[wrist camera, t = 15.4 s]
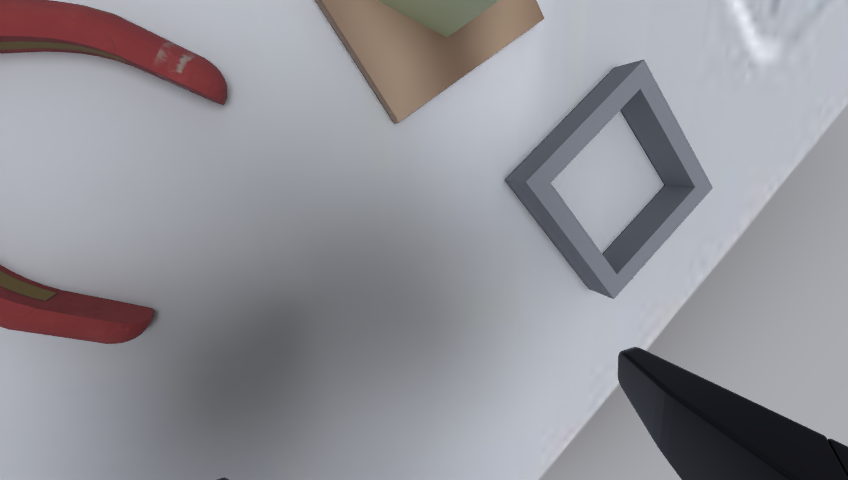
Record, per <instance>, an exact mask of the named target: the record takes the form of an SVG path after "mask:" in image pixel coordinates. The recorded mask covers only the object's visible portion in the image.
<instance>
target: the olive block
mask: <svg viewBox="0 0 848 480" xmlns="http://www.w3.org/2000/svg"><path fill="white" fill-rule="evenodd" d="M377 1H379V2H381V3H383V4H385V5H387V6H389V7H391V8H392V9H394V10H396V11H398V12H400V13H402V14H404V15H406V16H407V17H409V18H411V19H413V20H415V21H417V22H419V23H421V24H422V25H424V26H426V27H428V28H430V29H432V30H434V31H436V32H437V33H439V34H441V35H443V36H445V37H449V36H450V35H451V34H453V33H454V32H456V31H457V30H458V29H460V28H461V27H463V26H464V25H465V24H467V23H468V22H470V21H471V20H472V19H474V18H475V17H477V16H478V15H480V14H481V13H482V12H484V11H485V10H487V9H488V8H489V7H491V6H492V5H494V4H495V3H496V2H498V1H499V0H377Z"/></svg>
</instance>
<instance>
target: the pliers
mask: <svg viewBox="0 0 848 480" xmlns="http://www.w3.org/2000/svg"><path fill="white" fill-rule="evenodd" d="M40 51H50V52H71V53H82V54H89V55H95V56H100V57H104V58H108V59H112V60H116V61H119V62H122V63H125V64H128V65H131V66H134V67H137V68H139V69H141V70H143V71H146V72H148V73H150V74H152V75H155V76H157V77H159V78H161V79H164V80H166V81H168V82H171V83H173V84H175V85H177V86H180V87H182V88H184V89H186V90H189V91H191V92H193V93H196V94H198V95H200V96H203V97H205V98H207V99H210V100H212V101H214V102H217V103H219V104H222V105H224V103H225V100H226V97H227V85H226V82H225V79H224V77H223V76H222V74H221V72H220V71H219V70H218V69H217V68H216V67H215V66H214V65H213V64H212V63H211V62H209V61H208V60H206V59H205V58H203V57H201V56H199V55H197V54H195V53H193V52H190V51H188V50H186V49H184V48H182V47H180V46H178V45H176V44H174V43H172V42H170V41H168V40H166V39H164V38H162V37H160V36H158V35H156V34H154V33H152V32H150V31H148V30H146V29H144V28H141V27H139V26H137V25H135V24H133V23H131V22H129V21H127V20H125V19H123V18H121V17H119V16H117V15H115V14H112V13H108V12H105V11H101V10H98V9H94V8H91V7H87V6H84V5H78V4H71V3H65V2H58V1H50V0H0V53H18V52H40ZM153 313H154V311H153V309H152V308H148V307H143V306H138V305H134V304H129V303H124V302H119V301H114V300H109V299H103V298H98V297H93V296H88V295H83V294H78V293H73V292H68V291H62V290H59V289H55V288H52V287H48V286H45V285H42V284H39V283H37V282H34V281H31V280H29V279H26V278H24V277H22V276H20V275H18V274H16V273H14V272H12V271H10V270H8V269H7V268H5V267H3V266H1V265H0V327H3V328H6V329H11V330H18V331H24V332H31V333H38V334H45V335H52V336H58V337H65V338H72V339H79V340H86V341H93V342H99V343H105V344H116V343H123V342H126V341H129V340H132V339H134V338H136V337H137V336H139V335H140V334H142V333H143V331H144V330H145V329H146V328H147V327H148V325H149V324H150V322H151V320H152V317H153Z"/></svg>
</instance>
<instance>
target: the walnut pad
mask: <svg viewBox="0 0 848 480" xmlns="http://www.w3.org/2000/svg"><path fill="white" fill-rule="evenodd" d="M315 1H316V2H317V4H318V5H319V7H320V8H321V10H322V11H323V13H324V15H325V16H326V18H327V19H328V21H329V22H330V24H331V25H332V27H333V29H334V30H335V32H336V33H337V35H338V36H339V38H340V39H341V41H342V43H343V44H344V46H345V47H346V49H347V50H348V52H349V53H350V55H351V57H352V58H353V60H354V61H355V63H356V64H357V66H358V67H359V69H360V71H361V72H362V74H363V75H364V77H365V78H366V80H367V81H368V83H369V85H370V86H371V88H372V89H373V91H374V92H375V94H376V96H377V97H378V99H379V100H380V102H381V103H382V105H383V106H384V108H385V110H386V111H387V113H388V114H389V116H390V117H391V119H392V120H393V122H394V123H397V122H400V121H401V120H403V119H404V118H405V117H407V116H408V115H410V114H411V113H412V112H414V111H415V110H417V109H418V108H419V107H421V106H422V105H424V104H425V103H426V102H428V101H429V100H431V99H432V98H433V97H435V96H436V95H438V94H439V93H440V92H442V91H443V90H445V89H446V88H447V87H449V86H450V85H452V84H453V83H454V82H456V81H457V80H459V79H460V78H461V77H463V76H464V75H466V74H467V73H468V72H470V71H471V70H473V69H474V68H476V67H477V66H478V65H480V64H481V63H483V62H484V61H485V60H487V59H488V58H490V57H491V56H492V55H494V54H495V53H497V52H498V51H499V50H501V49H502V48H504V47H505V46H506V45H508V44H509V43H511V42H512V41H513V40H515V39H516V38H518V37H519V36H520V35H522V34H523V33H525V32H526V31H527V30H529V29H530V28H532V27H533V26H534V25H536V24H537V23H539V22H540V21H541V20H543V19H544V16H543V14H542V12H541V10H540V8H539V6H538V3H537V1H536V0H499V1H498V2H496V3H495V4H494V5H492V6H491V7H489V8H488V9H487V10H485V11H484V12H482V13H481V14H480V15H478V16H477V17H475V18H474V19H472V20H471V21H470V22H468V23H467V24H465V25H464V26H463V27H461V28H460V29H458V30H457V31H456V32H454V33H453V34H451V35H450V36H449V37H445V36H443V35H441V34H439V33H437V32H436V31H434V30H432V29H430V28H428V27H426V26H424V25H422V24H421V23H419V22H417V21H415V20H413V19H411V18H409V17H407V16H406V15H404V14H402V13H400V12H398V11H396V10H394V9H392V8H391V7H389V6H387V5H385V4H383V3H381V2H379V1H377V0H315Z"/></svg>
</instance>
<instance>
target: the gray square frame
mask: <svg viewBox="0 0 848 480" xmlns="http://www.w3.org/2000/svg"><path fill="white" fill-rule="evenodd" d="M619 110H621V111H622V113H623V115H624V116H625V118H626V120H627V121H628V123H629V125H630V126H631V128H632V130H633V132H634V133H635V135H636V137H637V138H638V140H639V142H640V143H641V145H642V147H643V149H644V150H645V152H646V154H647V155H648V157H649V159H650V160H651V162H652V164H653V165H654V167H655V169H656V171H657V172H658V174H659V176H660V177H661V179H662V181H663V182H664V184H665V186H664V187H663V188H662V190H661V191H660V192H659V193H658V194H657V195H656V196H655V197H654V198H653V199H652V200H651V202H650V203H649V204H648V205H647V206H646V207H645V208H644V209H643V210H642V211H641V213H640V214H639V215H638V216H637V217H636V218H635V219H634V220H633V221H632V222H631V224H630V225H629V226H628V227H627V228H626V229H625V230H624V231H623V232H622V233H621V235H620V236H619V237H618V238H617V239H616V240H615V241H614V242H613V243H612V244H611V246H610V247H609V248H608V249H607V250H606V251H605V252H604V253H603V254H602V253H601V252H600V251H599V249H598V248H597V246H596V245H595V244H594V242H593V241H592V240H591V238H590V237H589V235H588V234H587V233H586V231H585V230H584V228H583V227H582V226H581V224H580V223H579V222H578V220H577V219H576V217H575V216H574V215H573V213H572V212H571V210H570V209H569V208H568V206H567V205H566V204H565V202H564V201H563V199H562V198H561V197H560V195H559V194H558V192H557V191H556V190H555V188H554V187H553V186H552V184H551V182H552V181H553V180H554V179H555V177H556V176H557V175H558V174H559V173H560V172H561V171H562V170H563V169H564V168H565V167H566V166H567V165H568V164H569V163H570V162H571V161H572V160H573V159H574V158H575V157H576V155H577V154H578V153H579V152H580V151H581V150H582V149H583V148H584V147H585V146H586V145H587V144H588V143H589V142H590V141H591V140H592V139H593V138H594V137H595V136H596V135H597V134H598V132H599V131H600V130H601V129H602V128H603V127H604V126H605V125H606V124H607V123H608V122H609V121H610V120H611V119H612V118H613V117H614V116H615V115H616V114H617V113H618V112H619ZM505 181H506V182H507V183H508V185H509V186H510V187H511V189H512V190H513V191H514V192H515V194H516V195H517V196H518V198H519V199H520V200H521V201H522V203H523V204H524V205H525V207H526V208H527V209H528V211H529V212H530V213H531V214H532V216H533V217H534V218H535V220H536V221H537V222H538V223H539V225H540V226H541V227H542V229H543V230H544V231H545V232H546V234H547V235H548V236H549V238H550V239H551V240H552V242H553V243H554V244H555V245H556V247H557V248H558V249H559V251H560V252H561V253H562V254H563V256H564V257H565V258H566V260H567V261H568V262H569V263H570V265H571V266H572V267H573V269H574V270H575V271H576V273H577V274H578V275H579V276H580V278H581V279H582V280H583V282H584V283H585V284H586V285H587V287H588V288H589V289H591V290H593V291H596V292H598V293H600V294H603V295H605V296H608V297H610V298H613V299H614V298H615V297H616V296H617V295H618V294H619V293H620V292H621V290H622V289H623V288H624V287H625V286H626V285H627V284H628V283H629V281H630V280H631V279H632V278H633V277H634V276H635V275H636V274H637V272H638V271H639V270H640V269H641V268H642V267H643V266H644V265H645V263H646V262H647V261H648V260H649V259H650V258H651V257H652V256H653V254H654V253H655V252H656V251H657V250H658V249H659V248H660V247H661V246H662V244H663V243H664V242H665V241H666V240H667V239H668V238H669V237H670V235H671V234H672V233H673V232H674V231H675V230H676V229H677V228H678V226H679V225H680V224H681V223H682V222H683V221H684V220H685V219H686V217H687V216H688V215H689V214H690V213H691V212H692V211H693V210H694V208H695V207H696V206H697V205H698V204H699V203H700V202H701V201H702V200H703V198H704V197H705V196H706V195H707V194H708V193H709V192H710V191H711V189H712V188H713V187H712V185H711V184H710V182H709V180H708V178H707V176H706V174H705V172H704V171H703V169H702V167H701V165H700V163H699V161H698V159H697V157H696V156H695V154H694V152H693V150H692V148H691V146H690V144H689V143H688V141H687V139H686V137H685V135H684V133H683V131H682V129H681V128H680V126H679V124H678V122H677V120H676V118H675V116H674V115H673V113H672V111H671V109H670V107H669V105H668V103H667V101H666V100H665V98H664V96H663V94H662V92H661V90H660V88H659V87H658V85H657V83H656V81H655V79H654V77H653V75H652V74H651V72H650V70H649V68H648V66H647V64H646V62H645V60H641V61H637V62H633V63H630V64H626V65H622V66H619V67H615V68H614V69H613V70H612V71H611V72H610V73H609V74H608V75H607V76H606V77H605V78H604V79H603V80H602V81H601V82H600V83H599V84H598V85H597V86H596V87H595V88H594V89H593V90H592V91H591V92H590V93H589V94H588V95H587V96H586V97H585V98H584V99H583V101H582V102H581V103H580V104H579V105H578V106H577V107H576V108H575V109H574V110H573V111H572V112H571V113H570V114H569V115H568V116H567V117H566V118H565V119H564V120H563V121H562V122H561V123H560V124H559V125H558V126H557V127H556V128H555V129H554V130H553V131H552V132H551V133H550V134H549V135H548V136H547V137H546V138H545V140H544V141H543V142H542V143H541V144H540V145H539V146H538V147H537V148H536V149H535V150H534V151H533V152H532V153H531V154H530V155H529V156H528V157H527V158H526V159H525V160H524V161H523V162H522V163H521V164H520V165H519V166H518V167H517V168H516V169H515V170H514V171H513V172H512V173H511V174H510V175H509V176H508V177H507V179H506V180H505Z"/></svg>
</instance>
